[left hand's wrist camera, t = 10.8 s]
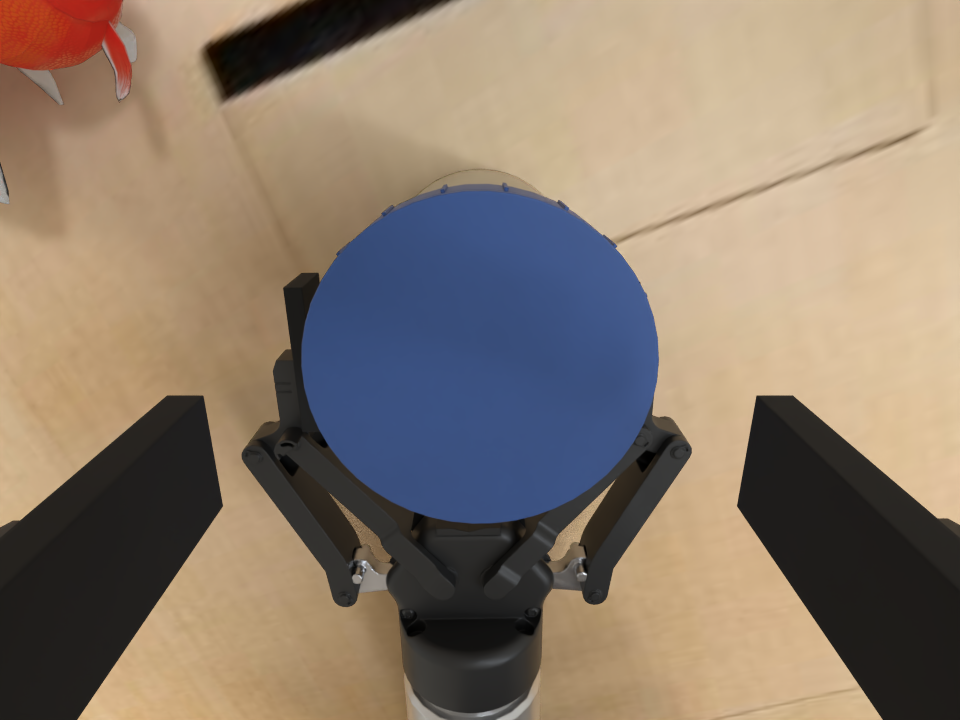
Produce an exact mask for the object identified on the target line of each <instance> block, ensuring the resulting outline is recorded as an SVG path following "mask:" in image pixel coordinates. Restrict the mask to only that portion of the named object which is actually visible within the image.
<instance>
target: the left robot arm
mask: <svg viewBox="0 0 960 720" xmlns="http://www.w3.org/2000/svg"><path fill="white" fill-rule="evenodd" d="M222 507H223V504H222V498H221V493H220V487H219V481H218V476H217V470H216V464H215V459H214V453H213V447H212V442H211V436H210V430H209V425H208V419H207V413H206V408H205V402H204V396H166V397H165V398H164V399H163V400H161V401H160V402H159V403H158V404H157V405H156V406H154V407H153V408H152V409H151V410H150V411H149V412H147V413H146V414H145V415H144V416H143V417H141V418H140V419H139V420H138V421H137V422H136V423H134V424H133V425H132V426H131V427H130V428H129V429H127V430H126V431H125V432H124V433H123V434H121V435H120V436H119V437H118V438H117V439H116V440H114V441H113V442H112V443H111V444H110V445H109V446H107V447H106V448H105V449H104V450H103V451H101V452H100V453H99V454H98V455H97V456H96V457H94V458H93V459H92V460H91V461H90V462H89V463H87V464H86V465H85V466H84V467H83V468H81V469H80V470H79V471H78V472H77V473H76V474H74V475H73V476H72V477H71V478H70V479H69V480H67V481H66V482H65V483H64V484H63V485H62V486H60V487H59V488H58V489H57V490H56V491H54V492H53V493H52V494H51V495H50V496H49V497H47V498H46V499H45V500H44V501H43V502H42V503H40V504H39V505H38V506H37V507H36V508H34V509H33V510H32V511H31V512H30V513H29V514H27V515H26V516H25V517H24V518H23V519H22V520H20V521H11V522H10V523H8V524H6V525H4V526H2V527H0V720H77V719H78V718H79V716H80V715H81V713H82V712H83V710H84V709H85V707H86V706H87V705H88V703H89V702H90V700H91V699H92V697H93V696H94V694H95V693H96V691H97V690H98V688H99V687H100V685H101V684H102V683H103V681H104V680H105V678H106V677H107V675H108V674H109V672H110V671H111V669H112V668H113V666H114V665H115V663H116V662H117V661H118V659H119V658H120V656H121V655H122V653H123V652H124V650H125V649H126V647H127V646H128V644H129V643H130V642H131V640H132V639H133V637H134V636H135V634H136V633H137V631H138V630H139V628H140V627H141V625H142V624H143V622H144V621H145V620H146V618H147V617H148V615H149V614H150V612H151V611H152V609H153V608H154V606H155V605H156V603H157V602H158V601H159V599H160V598H161V596H162V595H163V593H164V592H165V590H166V589H167V587H168V586H169V584H170V583H171V581H172V580H173V579H174V577H175V576H176V574H177V573H178V571H179V570H180V568H181V567H182V565H183V564H184V562H185V561H186V559H187V558H188V557H189V555H190V554H191V552H192V551H193V549H194V548H195V546H196V545H197V543H198V542H199V540H200V539H201V538H202V536H203V535H204V533H205V532H206V530H207V529H208V527H209V526H210V524H211V523H212V521H213V520H214V518H215V517H216V516H217V514H218V513H219V511H220V510H221V508H222ZM737 507H738V508H739V510H740V511H741V513H742V514H743V516H744V517H745V518H746V520H747V521H748V523H749V524H750V526H751V527H752V529H753V530H754V532H755V533H756V535H757V536H758V538H759V539H760V540H761V542H762V543H763V545H764V546H765V548H766V549H767V551H768V552H769V554H770V555H771V557H772V558H773V559H774V561H775V562H776V564H777V565H778V567H779V568H780V570H781V571H782V573H783V574H784V576H785V577H786V579H787V580H788V581H789V583H790V584H791V586H792V587H793V589H794V590H795V592H796V593H797V595H798V596H799V598H800V599H801V601H802V602H803V603H804V605H805V606H806V608H807V609H808V611H809V612H810V614H811V615H812V617H813V618H814V620H815V621H816V622H817V624H818V625H819V627H820V628H821V630H822V631H823V633H824V634H825V636H826V637H827V639H828V640H829V642H830V643H831V644H832V646H833V647H834V649H835V650H836V652H837V653H838V655H839V656H840V658H841V659H842V661H843V662H844V663H845V665H846V666H847V668H848V669H849V671H850V672H851V674H852V675H853V677H854V678H855V680H856V681H857V683H858V684H859V685H860V687H861V688H862V690H863V691H864V693H865V694H866V696H867V697H868V699H869V700H870V702H871V703H872V705H873V706H874V707H875V709H876V710H877V712H878V713H879V715H880V716H881V718H882V719H883V720H960V525H959V524H957V523H955V522H953V521H951V520H949V519H937V518H936V517H935V516H934V515H933V514H931V513H930V512H929V511H928V510H927V509H926V508H924V507H923V506H922V505H921V504H920V503H918V502H917V501H916V500H915V499H914V498H913V497H911V496H910V495H909V494H908V493H907V492H906V491H904V490H903V489H902V488H901V487H900V486H898V485H897V484H896V483H895V482H894V481H893V480H891V479H890V478H889V477H888V476H887V475H886V474H884V473H883V472H882V471H881V470H880V469H879V468H877V467H876V466H875V465H874V464H873V463H871V462H870V461H869V460H868V459H867V458H866V457H864V456H863V455H862V454H861V453H860V452H859V451H857V450H856V449H855V448H854V447H853V446H851V445H850V444H849V443H848V442H847V441H846V440H844V439H843V438H842V437H841V436H840V435H839V434H837V433H836V432H835V431H834V430H833V429H831V428H830V427H829V426H828V425H827V424H826V423H824V422H823V421H822V420H821V419H820V418H819V417H817V416H816V415H815V414H814V413H813V412H811V411H810V410H809V409H808V408H807V407H806V406H804V405H803V404H802V403H801V402H800V401H799V400H797V399H796V398H795V397H794V396H756V402H755V408H754V413H753V419H752V425H751V430H750V436H749V442H748V447H747V453H746V459H745V464H744V470H743V476H742V481H741V487H740V493H739V498H738V504H737Z"/></svg>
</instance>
